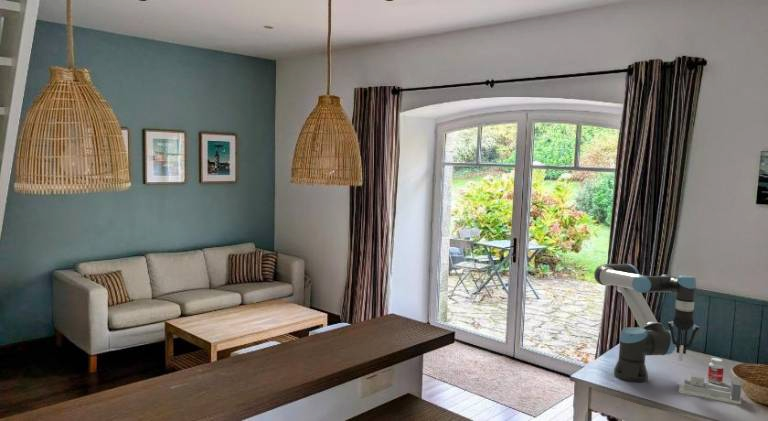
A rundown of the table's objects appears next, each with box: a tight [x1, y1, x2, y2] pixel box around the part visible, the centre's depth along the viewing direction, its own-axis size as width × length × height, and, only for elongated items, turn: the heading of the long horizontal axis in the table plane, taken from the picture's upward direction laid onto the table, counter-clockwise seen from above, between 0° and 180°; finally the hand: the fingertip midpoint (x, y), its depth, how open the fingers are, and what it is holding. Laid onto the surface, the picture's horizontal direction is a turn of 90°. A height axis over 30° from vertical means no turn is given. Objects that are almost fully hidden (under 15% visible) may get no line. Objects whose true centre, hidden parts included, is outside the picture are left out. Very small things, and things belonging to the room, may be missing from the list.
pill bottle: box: [707, 357, 725, 385], centre depth 273 cm, size 6×6×11 cm
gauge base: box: [678, 377, 742, 405], centre depth 257 cm, size 24×10×8 cm, turn 62°
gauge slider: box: [690, 373, 709, 387], centre depth 258 cm, size 7×7×6 cm
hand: (680, 360), depth 262 cm, fingers closed
